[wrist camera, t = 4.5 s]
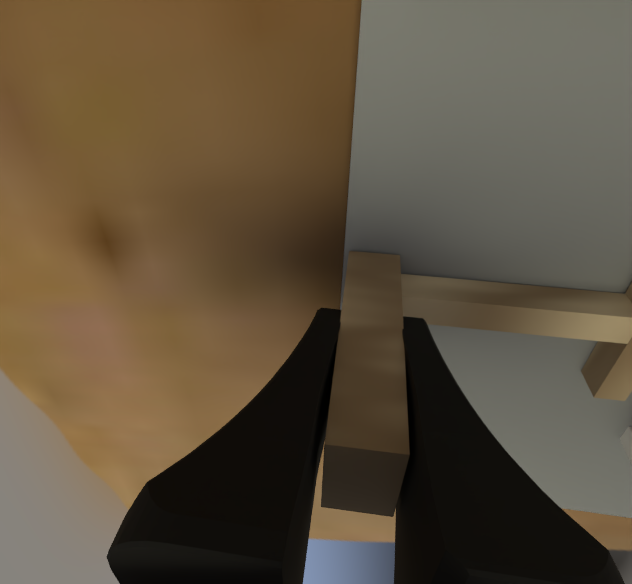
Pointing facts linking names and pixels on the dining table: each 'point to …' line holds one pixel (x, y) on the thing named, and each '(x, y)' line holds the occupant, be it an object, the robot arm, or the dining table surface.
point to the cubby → (507, 203)
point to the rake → (390, 373)
